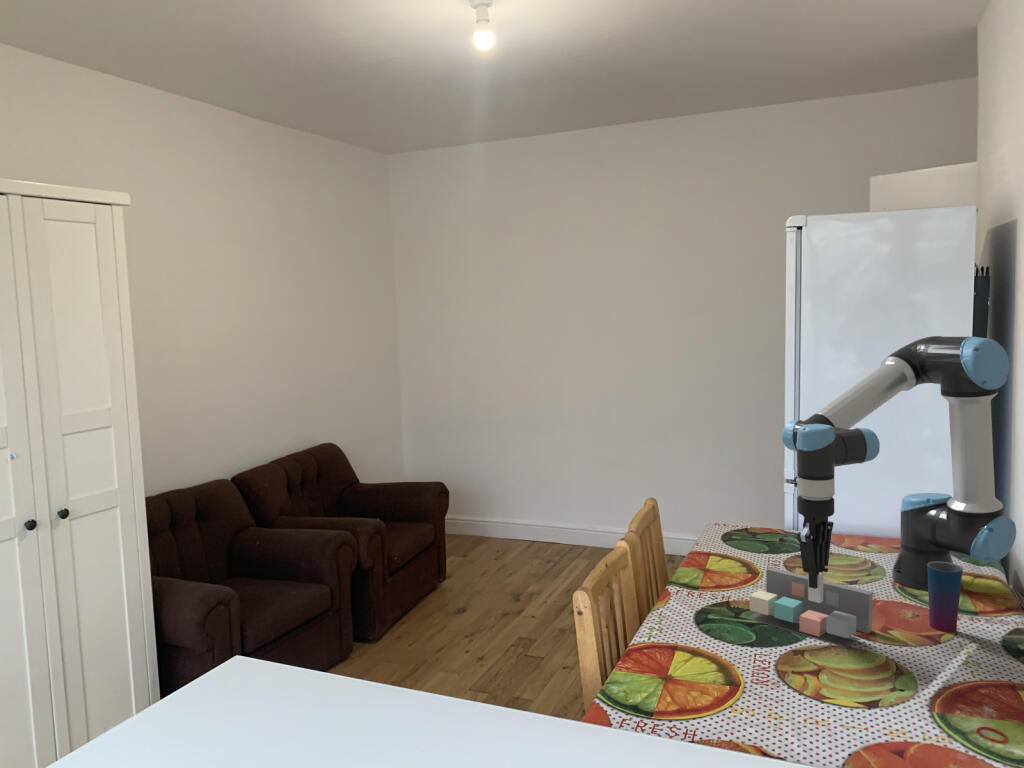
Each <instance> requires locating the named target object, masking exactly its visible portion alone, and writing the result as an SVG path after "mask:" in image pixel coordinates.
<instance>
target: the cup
mask: <svg viewBox="0 0 1024 768" xmlns="http://www.w3.org/2000/svg"><path fill="white" fill-rule="evenodd" d="M953 563H954V562H953ZM953 563H949V562H940V561H935V562H929V563H928V564H927V570H928V590H927V592H928V593H927V594H928V595H927V596H928V614H929V627H930V628H931V629H933V630H936V631H939V632H944V633H947V632H948V633H954V634H955V633H957V625H958V616H959V608H960V600H961V599H960V597H961V589H962V580H963V579H962V578H963V567H962V566H960V565H958V564H957V563H954V564H953Z"/></svg>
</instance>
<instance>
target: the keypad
mask: <svg viewBox="0 0 1024 768" xmlns="http://www.w3.org/2000/svg"><path fill="white" fill-rule="evenodd" d="M765 576H766V578H765V579H766V580H765V581H766V582H765V583H766V587H765V589H766V590H765V592H768V593H772V594H776V595H777V600H779V599H780V598H782V597H787V598H791V599H794V600H798V601H802V614H803V613H805V612H806V611H808V610H811V611H815V612H819V613H822V614H826V615H830V614H831V613H833V612H834V611H839V612H843V613H847V614H850V615H854V616H856V632H857V631H858V632H861V633H865V634H870V633H871V632H873V612H874V611H873V608H874V605H873V602H874V599H873V598H874V597H873V596H874V592H873V591H870V590H866V589H862V588H857V587H853V586H850V585H845V584H840V583H837V582H834V581H829V580H825V579H823V602H821V603H818V602H814V601H810V600H808V575H804V574H801V573H796V572H792V571H789V570H783V569H779V568H776V567H768V568H767V569H766V575H765ZM747 619H748V620H752V621H755V622H757V623H758V622H759V623H761V624H765V625H769V626H771V627H774V628H778V629H782V630H785V631H788V632H791V633H795V634H798V635H802V636H804V637H808V638H812V639H815V640H817V641H821V642H824V643H827V644H831V645H834V646H838V647H841V648H845V649H848V648H849V647H850V646H851V645H853V644H854V643H855V642H857V641H858V640H859V639H860V638H859V637H855V636H853V635H851V636H850V637H849V638H844V637H841V636H837V635H834V634H830V633H827V632H826V633H824V634H823V635H822V636H820V637H818V636H814V635H811V634H808V633H804V632H801V631H799V626H800V620H796V621H795V622H789V621H786V620H782V619H779V618H775V617H774V612H772V613H771V614H769V615H765V614H762V613H758V612H755V613H753V614H751V615H750V616H748V617H747Z"/></svg>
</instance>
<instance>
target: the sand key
mask: <svg viewBox="0 0 1024 768" xmlns="http://www.w3.org/2000/svg"><path fill="white" fill-rule="evenodd" d="M775 601H777V595H776V594H772V593H768V592H766V590H765V591H764V590H760V589H759V590H757V591H754V593H752V594H750V595H749V611H752V612H755V613H756V612H758V613H762V614H765V615H769V614H771V613H774V602H775Z"/></svg>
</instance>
